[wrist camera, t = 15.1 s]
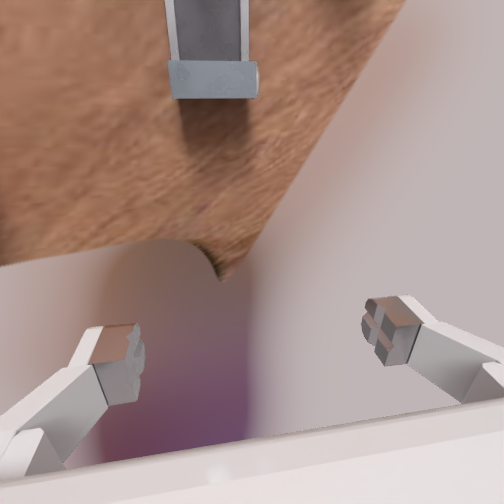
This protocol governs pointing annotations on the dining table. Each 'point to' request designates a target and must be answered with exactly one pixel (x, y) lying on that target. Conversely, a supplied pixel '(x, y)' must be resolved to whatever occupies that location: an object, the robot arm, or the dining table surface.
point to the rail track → (210, 49)
